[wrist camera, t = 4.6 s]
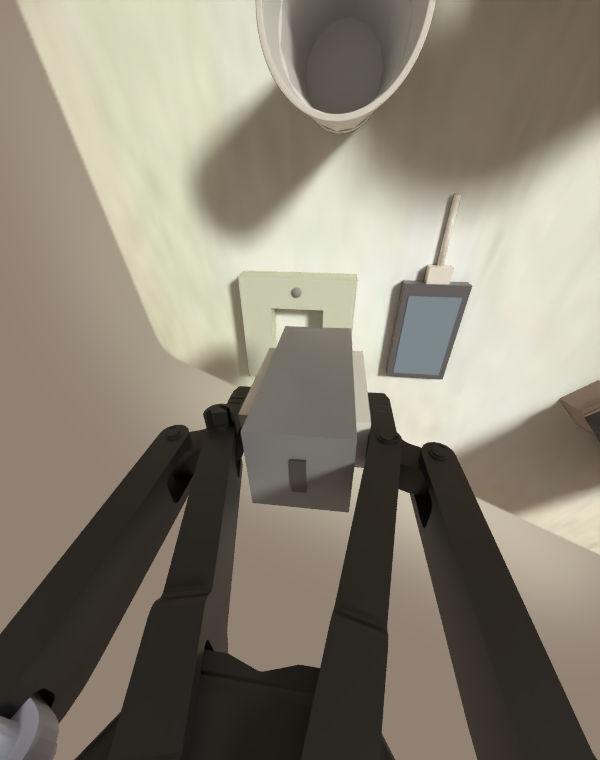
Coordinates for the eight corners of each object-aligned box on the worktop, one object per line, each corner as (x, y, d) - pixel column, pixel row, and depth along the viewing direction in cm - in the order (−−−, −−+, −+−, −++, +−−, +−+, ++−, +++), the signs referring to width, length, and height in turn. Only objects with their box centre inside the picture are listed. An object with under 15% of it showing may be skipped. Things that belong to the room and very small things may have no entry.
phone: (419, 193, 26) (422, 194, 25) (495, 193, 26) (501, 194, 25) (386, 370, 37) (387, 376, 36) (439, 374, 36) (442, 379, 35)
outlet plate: (244, 270, 32) (237, 276, 30) (356, 274, 31) (357, 280, 29) (254, 365, 39) (249, 376, 37) (346, 371, 37) (346, 382, 35)
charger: (285, 326, 19) (239, 433, 11) (350, 328, 19) (357, 442, 10) (288, 380, 21) (251, 505, 13) (346, 383, 21) (348, 515, 12)
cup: (348, 169, 26) (351, 159, 16) (273, 98, 24) (225, 39, 14) (419, 62, 22) (482, -38, 12) (337, -33, 20) (330, -245, 10)
